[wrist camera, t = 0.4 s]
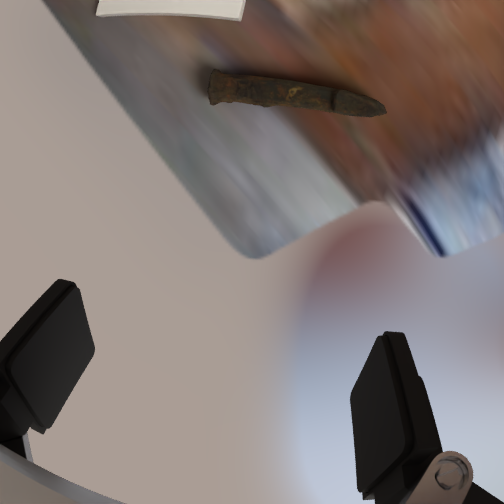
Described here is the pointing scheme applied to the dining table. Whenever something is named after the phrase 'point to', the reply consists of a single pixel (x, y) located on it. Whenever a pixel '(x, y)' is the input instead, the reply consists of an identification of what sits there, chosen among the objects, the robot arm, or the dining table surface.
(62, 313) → the robot arm
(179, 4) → the slider channel
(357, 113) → the hand tool
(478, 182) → the dining table surface
